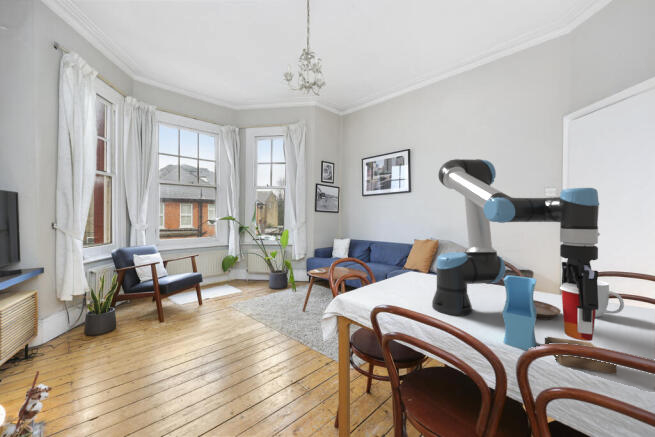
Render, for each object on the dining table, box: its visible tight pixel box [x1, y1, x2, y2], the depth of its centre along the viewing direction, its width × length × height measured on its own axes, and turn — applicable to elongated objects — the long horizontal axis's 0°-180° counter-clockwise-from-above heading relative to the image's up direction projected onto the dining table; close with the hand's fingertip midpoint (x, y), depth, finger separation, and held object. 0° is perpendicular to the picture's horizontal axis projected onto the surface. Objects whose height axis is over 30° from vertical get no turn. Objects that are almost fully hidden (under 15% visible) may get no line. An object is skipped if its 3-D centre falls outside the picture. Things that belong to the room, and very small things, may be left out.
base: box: [544, 336, 617, 375], centre depth 72 cm, size 11×11×3 cm
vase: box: [502, 274, 537, 351], centre depth 81 cm, size 8×8×20 cm
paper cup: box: [559, 283, 599, 342], centre depth 72 cm, size 8×8×14 cm
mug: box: [595, 280, 625, 318], centre depth 102 cm, size 15×11×13 cm
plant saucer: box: [505, 299, 562, 320], centre depth 106 cm, size 18×18×3 cm
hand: (577, 327), depth 72 cm, fingers closed on paper cup, 6 cm apart
